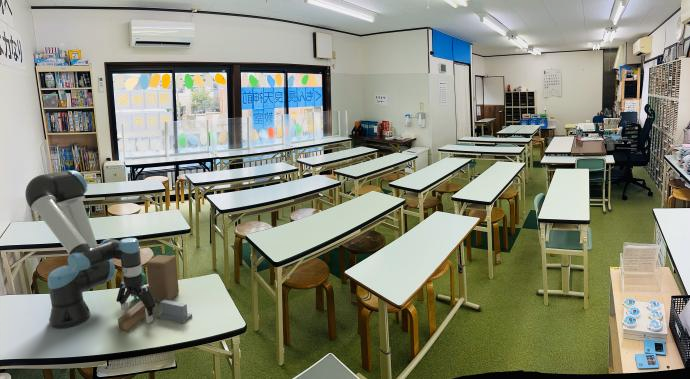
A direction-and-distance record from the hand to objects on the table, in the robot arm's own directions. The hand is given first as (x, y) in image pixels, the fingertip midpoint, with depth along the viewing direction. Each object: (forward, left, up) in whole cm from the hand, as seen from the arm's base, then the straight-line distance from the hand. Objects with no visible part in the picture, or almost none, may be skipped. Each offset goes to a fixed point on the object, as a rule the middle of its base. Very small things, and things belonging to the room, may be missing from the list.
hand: (138, 319), depth 190 cm
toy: (-15, +15, 0) cm, 21 cm away
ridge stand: (+14, +7, 0) cm, 16 cm away
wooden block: (-4, +21, 0) cm, 21 cm away
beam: (0, 0, 0) cm, 0 cm away
